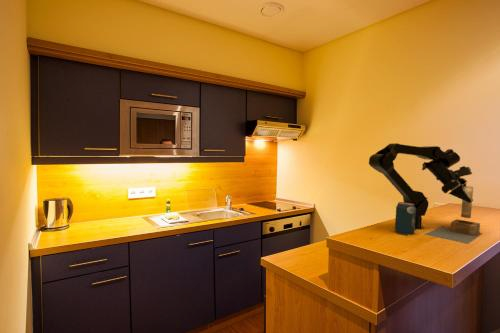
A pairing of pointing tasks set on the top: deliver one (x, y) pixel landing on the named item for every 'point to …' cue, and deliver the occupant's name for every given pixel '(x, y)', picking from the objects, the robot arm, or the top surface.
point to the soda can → (405, 218)
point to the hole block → (465, 227)
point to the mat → (452, 235)
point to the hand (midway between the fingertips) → (471, 201)
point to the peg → (465, 205)
